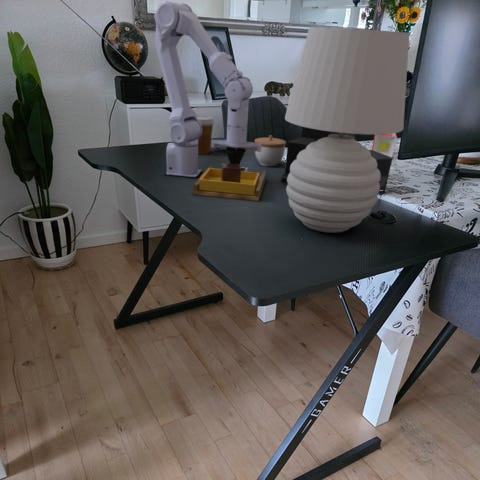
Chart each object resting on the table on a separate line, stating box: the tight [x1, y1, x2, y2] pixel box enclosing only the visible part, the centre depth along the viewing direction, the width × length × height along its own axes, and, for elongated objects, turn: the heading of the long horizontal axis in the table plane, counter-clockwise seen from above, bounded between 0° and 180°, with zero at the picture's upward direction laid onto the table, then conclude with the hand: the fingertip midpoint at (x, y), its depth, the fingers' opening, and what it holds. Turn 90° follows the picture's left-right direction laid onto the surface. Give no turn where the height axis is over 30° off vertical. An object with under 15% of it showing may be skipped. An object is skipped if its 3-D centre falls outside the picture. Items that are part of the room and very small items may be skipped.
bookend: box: [280, 126, 346, 183], centre depth 139 cm, size 23×11×24 cm, turn 149°
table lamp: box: [284, 26, 410, 234], centre depth 99 cm, size 25×25×40 cm
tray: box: [198, 166, 261, 195], centre depth 129 cm, size 15×18×3 cm
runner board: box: [193, 165, 267, 202], centre depth 131 cm, size 18×22×3 cm
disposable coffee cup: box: [196, 114, 215, 155], centre depth 163 cm, size 10×10×12 cm
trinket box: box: [254, 134, 287, 167], centre depth 155 cm, size 11×11×9 cm
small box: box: [368, 149, 394, 195], centre depth 135 cm, size 11×6×10 cm, turn 23°
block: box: [220, 162, 242, 183], centre depth 126 cm, size 5×5×5 cm
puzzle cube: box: [371, 133, 398, 158], centre depth 178 cm, size 8×8×8 cm
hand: (234, 174), depth 134 cm, fingers closed
